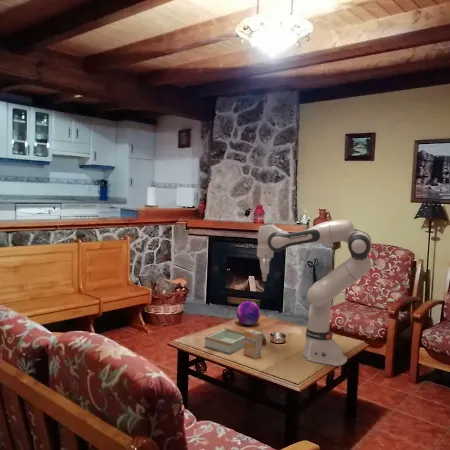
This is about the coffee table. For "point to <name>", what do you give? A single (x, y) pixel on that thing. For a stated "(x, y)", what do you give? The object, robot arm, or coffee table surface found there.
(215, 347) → the crate
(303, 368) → the coffee table surface
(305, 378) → the coffee table surface
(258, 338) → the supplement box
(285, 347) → the coffee table surface
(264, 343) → the carton
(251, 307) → the decorative orb
